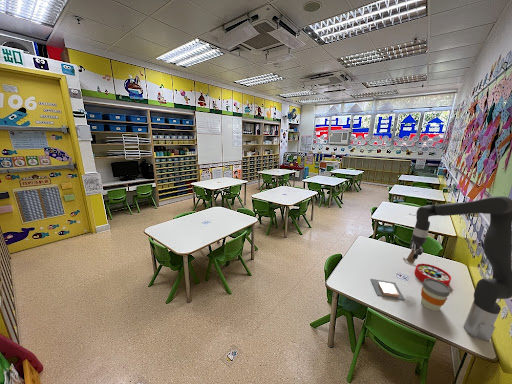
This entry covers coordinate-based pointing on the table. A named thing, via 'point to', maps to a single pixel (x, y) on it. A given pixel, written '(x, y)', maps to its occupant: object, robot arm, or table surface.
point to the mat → (379, 292)
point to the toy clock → (432, 273)
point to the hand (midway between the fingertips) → (413, 257)
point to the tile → (388, 289)
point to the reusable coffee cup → (434, 294)
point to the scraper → (410, 258)
